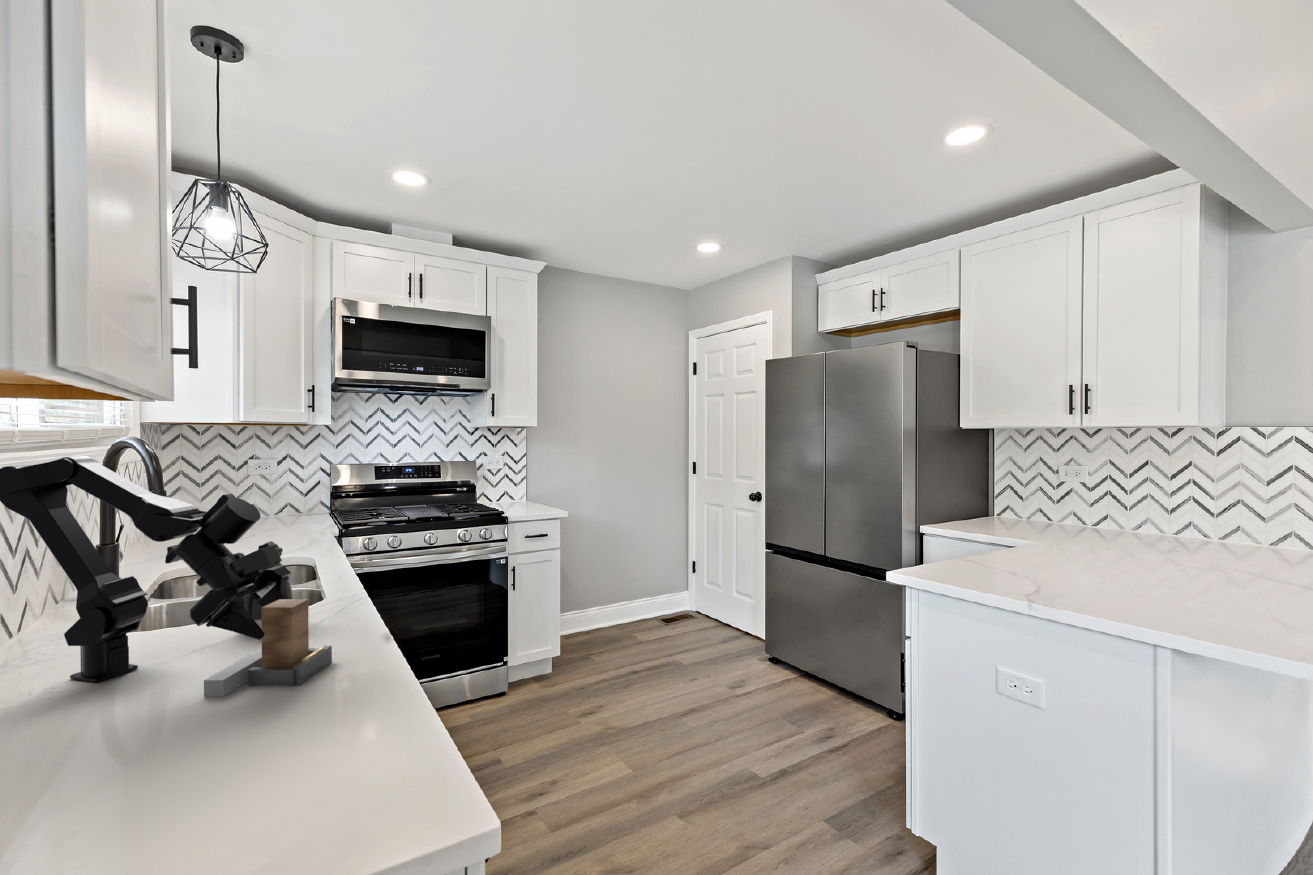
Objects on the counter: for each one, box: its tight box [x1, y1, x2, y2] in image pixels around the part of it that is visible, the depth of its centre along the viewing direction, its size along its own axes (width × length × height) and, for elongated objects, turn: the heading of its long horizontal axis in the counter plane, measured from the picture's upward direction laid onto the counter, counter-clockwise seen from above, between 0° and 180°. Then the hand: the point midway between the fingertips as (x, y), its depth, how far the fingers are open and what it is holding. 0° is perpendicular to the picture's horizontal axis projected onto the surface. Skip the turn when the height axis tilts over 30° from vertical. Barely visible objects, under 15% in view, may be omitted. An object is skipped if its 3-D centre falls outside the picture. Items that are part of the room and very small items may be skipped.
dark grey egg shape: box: [244, 562, 295, 629], centre depth 129 cm, size 10×10×15 cm
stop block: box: [261, 598, 310, 667], centre depth 106 cm, size 5×5×12 cm
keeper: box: [247, 645, 333, 686], centre depth 106 cm, size 8×10×3 cm
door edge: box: [203, 647, 262, 697], centre depth 106 cm, size 3×18×2 cm, turn 1°
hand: (279, 628), depth 106 cm, fingers open, 9 cm apart
